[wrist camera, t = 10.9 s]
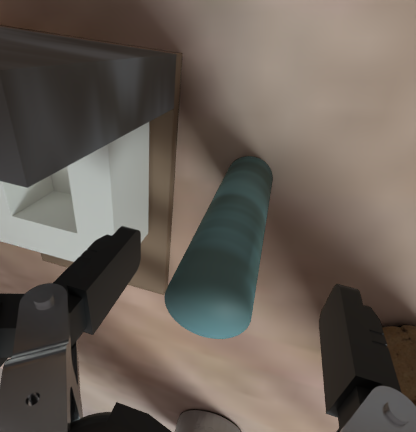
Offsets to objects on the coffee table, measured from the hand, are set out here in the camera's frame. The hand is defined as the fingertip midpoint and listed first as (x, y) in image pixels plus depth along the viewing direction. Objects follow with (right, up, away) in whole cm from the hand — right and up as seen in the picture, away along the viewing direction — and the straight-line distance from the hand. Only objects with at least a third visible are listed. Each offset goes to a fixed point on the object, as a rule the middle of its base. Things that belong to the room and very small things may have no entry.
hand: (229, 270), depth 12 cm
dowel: (+2, +5, +9) cm, 10 cm away
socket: (-10, +6, +10) cm, 15 cm away
